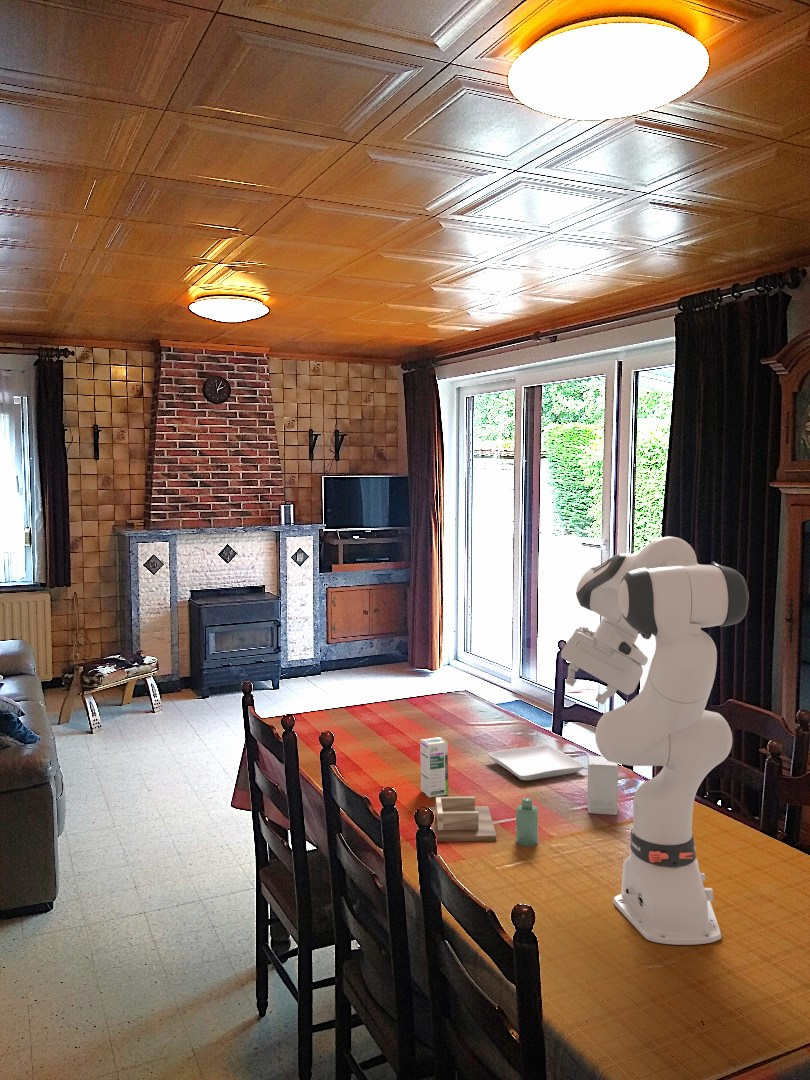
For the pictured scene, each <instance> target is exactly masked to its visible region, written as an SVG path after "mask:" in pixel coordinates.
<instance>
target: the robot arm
mask: <svg viewBox="0 0 810 1080" xmlns="http://www.w3.org/2000/svg"><path fill="white" fill-rule="evenodd" d="M575 595H576V599H577V601H578V603H579V606H580V607H582V608H584V609H587V610H589V611H592V612H594V613H596V614H597V615H599V616H602V617H603V618H602V620H601V621H600V623H599V625H598V627H597V628H596V630H592V629H590V628H588V627H587V626H580V627H577V628H576V629H575V631H574V632H573V634H572V636H571V637H570V638H569V639H568V641H567V642H566V644H565V645H564V647H562V650H561V651H560V657H561V658H562V659H564V660H565V661H566V662H568V663H569V665H568V666H567V677H566V679H565V681H564V683H566V684H568V685H569V686H571V687H574V686H575V684H576V682H577V679H575V675H576V673H577V672H578V671H579V669H581V670H582V671H585V672H586V673H588V674H590V675H591V676H593V677H595V678H597V679H598V680H600V681H602V682H604V683H606V684H607V686H606V688H605V689H606V691H604V692H603V693H602V694H601V693H598V694H597V695H596V697H595V701H596V702H597V703H599V704H601V705H605V703H606V702H607V700H608V699H609V698H612V696H615V695H616V693H617V691H619V692H621V693H623V694H624V695H631V694H633V693H634V692H635V690H636V689H637V687H638V685H639V683H640V681H641V677H642V676H643V672H644V669H643V666H646V665H647V663H648V661H649V659H648V656H646V654H644V652H643V651H641V649H640V648H639V647H638V646H637V645H636V641H637V639H638V636H639V634H640V636H641V637H642V638H643V639H644V640H650V639H651V637H652V635H653V636H654V638H655V650H654V654H653V657H652V660H651V662H650V666H649V670H648V673H647V676H646V680H645V683H644V686H643V688H642V690H641V691H640V692H639V693H638V694H637V695H636V696H634V698H632V699H631V700H629V701H628V702H627V703H624V704H623V705H621V706H620V707H617V708H615V709H612V710H609V711H605V713H603V714H602V716H601V717H600V718H599V720H598V722H597V724H596V727H595V743H596V746H597V749H598V751H599V752H600V754H601V756H603V757H604V758H605V759H606V760H607V761H610V762H615V763H618V765H620V764H621V765H624V766H631V767H635V766H636V767H639V766H640V767H662V769H661V770H660V771H659V772H658V774H657V775H655V776H654V777H653V778H651V779H648V780H647V781H645V782H643V783H641V784H640V785H639V786H638V788H637V789H636V790H635V792H634V795H633V800H632V802H633V804H632V806H633V807H632V814H633V815H632V820H633V821H632V822H633V824H632V829H631V831H630V836H629V841H630V850H631V851H630V853H629V854H628V856H627V857H626V858H625V859H624V861H623V862H622V873H621V874H622V876H621V891H620V892H621V893H620V894H616V895H615V896H614V897H613V905H614V906H615V907H616V908H617V909H618V911H620V912H621V914H622V915H623V916H624V917H625V918H626V919H627V920H628V921H629V922H630V923H631V924H632V926H634V928H635V929H636V930H637V931H638V932H639V933H640V934H641V935H642V937H644V938H645V940H648V941H650V942H653V943H657V944H658V943H659V944H664V945H675V946H676V945H679V946H680V945H681V946H683V945H685V946H689V945H692V946H693V945H703V944H711V943H714V942H718V941H719V940H721V939H722V933H721V929H720V927H719V923H718V920H717V917H716V914H715V912H714V908H713V905H712V902H713V901H714V890H713V888H712V887H704V886H705V885H704V882H703V881H706V874H705V873H704V872H700V871H701V870H700V867H699V860H698V858H697V856H696V855H697V854H696V843H695V837H694V834H692V833H693V831H692V829H693V815H694V813H693V812H694V802H695V799H696V794H697V792H698V789H699V788H700V786H701V784H702V782H703V781H704V780H705V778H706V777H707V775H708V774H709V773H710V772H711V771H712V770H713V769H714V768H716V767H717V766H718V765H720V764H721V763H722V762H724V761H725V760H726V759H727V757H728V756H729V754H730V753H731V750H732V747H733V733H732V729H731V727H730V725H729V722H728V721H727V720H726V719H725V718H724V716H723V715H722V714H720V713H719V712H716V711H710V710H706V709H705V708H706V706H707V703H708V699H709V698H710V695H711V691H712V689H713V685H714V683H715V682H714V681H715V678H716V672H717V665H718V664H717V663H718V659H717V658H718V649H717V646H716V644H715V641H714V640H713V639H712V637H711V636H710V635H709V634H708V633H707V632H705V631H704V630H702V629H703V628H712V627H717V626H719V627H720V628H723V627H729V626H732V625H736V624H739V623H740V622H742V620H743V619H744V618H745V616H746V615H747V611H748V608H749V600H750V597H749V596H750V595H749V589H748V585H747V581H746V579H745V577H744V576H743V575H742V574H741V573H740V572H739V571H737V570H736V569H734V568H731V567H728V566H725V565H721V564H719V563H717V562H715V561H712V562H711V563H710V564H700V563H698V559H697V555H696V553H695V550H694V549H693V547H692V545H690V544H689V543H688V542H687V541H685V540H684V539H683V538H680V537H678V536H677V537H675V536H664V537H663V536H662V537H659V538H658V539H655V540H653V541H651V542H650V543H649V544H648V545H646V546H645V547H644V548H643V549H642V550H641V551H639V552H637V553H618V554H617V553H616V554H615V555H613V556H611V557H610V558H608V559H607V560H606V561H605V560H604V562H602V563H600V565H597V566H593V567H591V568H589V570H588V571H586V572H585V573H584V574H583V576H582V577H581V579H579V582H578V583H577V587H576V592H575Z"/></svg>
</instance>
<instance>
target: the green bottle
mask: <svg viewBox="0 0 810 1080" xmlns="http://www.w3.org/2000/svg"><path fill="white" fill-rule="evenodd" d="M515 821H516V822H515V826H516V827H515V831H516V832H515V834H516V835H515V836H516V838H515V840H516V841H515V842H516V843H517V845H520V846H521V847H535V846H537V845H538V843H539V807H538V806H536V805H534V804H533V799H532V798H530V797H523V798H521V804H518V805H516V807H515Z"/></svg>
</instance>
